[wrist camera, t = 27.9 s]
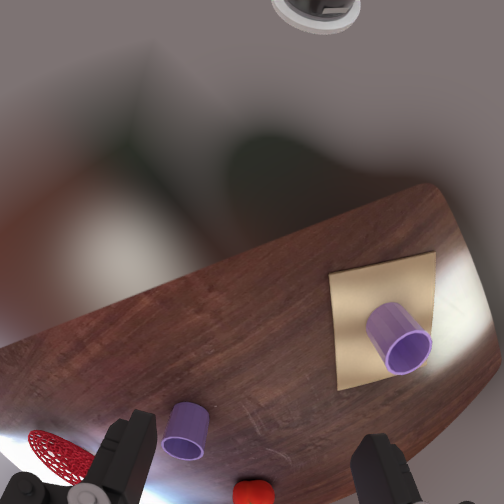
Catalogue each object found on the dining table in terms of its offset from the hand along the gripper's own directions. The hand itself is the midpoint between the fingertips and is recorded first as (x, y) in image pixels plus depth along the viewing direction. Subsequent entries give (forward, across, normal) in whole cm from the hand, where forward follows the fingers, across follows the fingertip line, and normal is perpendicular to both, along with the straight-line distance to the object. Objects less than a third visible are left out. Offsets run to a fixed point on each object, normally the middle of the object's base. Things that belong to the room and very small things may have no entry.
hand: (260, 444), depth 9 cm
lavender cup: (+28, -20, +8) cm, 35 cm away
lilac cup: (+28, +6, +31) cm, 42 cm away
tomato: (+28, -8, +54) cm, 61 cm away
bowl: (+28, +35, +62) cm, 76 cm away
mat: (+28, -20, +9) cm, 36 cm away
